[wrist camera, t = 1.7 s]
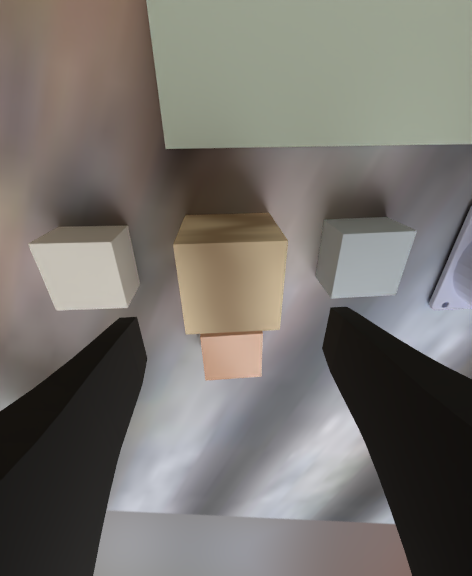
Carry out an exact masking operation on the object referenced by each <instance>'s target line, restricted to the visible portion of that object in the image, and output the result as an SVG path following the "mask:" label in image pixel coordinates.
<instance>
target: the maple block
mask: <svg viewBox="0 0 472 576" xmlns="http://www.w3.org/2000/svg"><path fill="white" fill-rule="evenodd" d="M287 246H288V240H287V239H286V237H285V236H284V234H283V233H282V231H281V230H280V228H279V227H278V225H277V224H276V222H275V221H274V220H273V218H272V217H271V215H270V214H269V213H240V214H204V215H185V217H184V220H183V222H182V224H181V227H180V229H179V232H178V234H177V237H176V239H175V241H174V244H173V247H174V254H175V261H176V268H177V275H178V282H179V289H180V296H181V304H182V311H183V318H184V325H185V332H186V334H205V333H225V332H245V331H266V330H280V321H281V310H282V300H283V289H284V278H285V267H286V257H287Z"/></svg>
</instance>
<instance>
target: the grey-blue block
mask: <svg viewBox="0 0 472 576" xmlns="http://www.w3.org/2000/svg"><path fill="white" fill-rule="evenodd" d="M416 232H417V231H416V230H414V229H411V228H409V227H407V226H405V225H403V224H401V223H398V222H396V221H394V220H392V219H390V218H388V217H375V218H351V219H327V220H324V223H323V229H322V236H321V243H320V250H319V256H318V263H317V270H316V278H317V280H318V281H319V282H320V284H321V285H322V287H323V288H324V289H325V291H326V292H327V293H328V295H329V296H330V298H331V299H332V298H349V297H367V296H385V295H396V292H397V289H398V286H399V283H400V280H401V277H402V274H403V271H404V268H405V265H406V262H407V259H408V256H409V253H410V250H411V247H412V244H413V241H414V238H415V235H416Z"/></svg>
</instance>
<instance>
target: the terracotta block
mask: <svg viewBox="0 0 472 576" xmlns="http://www.w3.org/2000/svg"><path fill="white" fill-rule="evenodd" d="M200 339H201V347H202V355H203V363H204V371H205V379H206V380H219V379H233V378H248V377H261V370H262V341H263V332H262V331H245V332H225V333H205V334H201V336H200Z"/></svg>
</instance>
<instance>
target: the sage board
mask: <svg viewBox="0 0 472 576" xmlns="http://www.w3.org/2000/svg"><path fill="white" fill-rule="evenodd" d="M146 2H147V10H148V17H149V25H150V33H151V40H152V48H153V56H154V63H155V71H156V79H157V86H158V94H159V102H160V109H161V117H162V124H163V132H164V140H165V147H166V149H189V148H253V147H316V146H380V145H443V144H472V0H146Z"/></svg>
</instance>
